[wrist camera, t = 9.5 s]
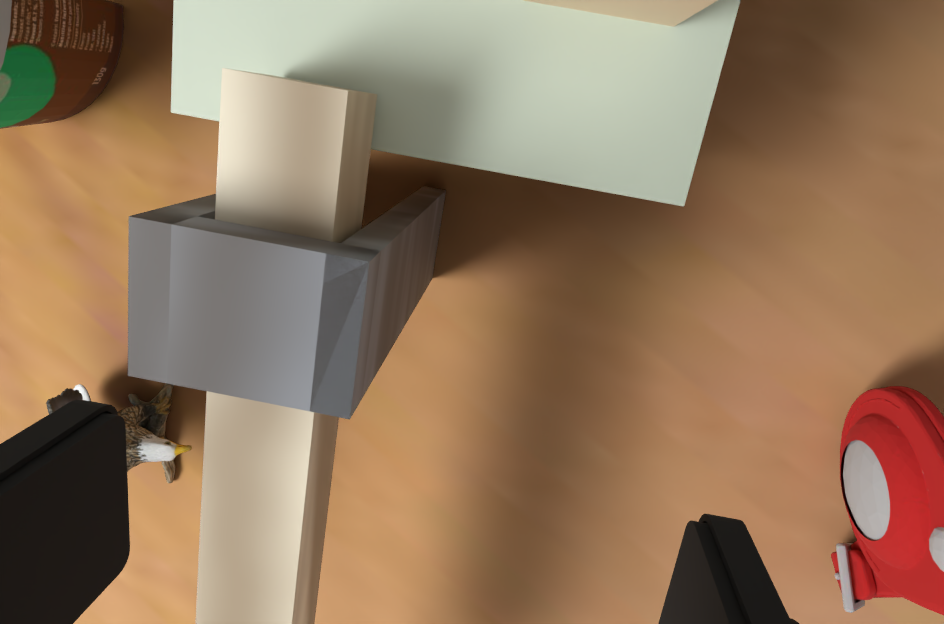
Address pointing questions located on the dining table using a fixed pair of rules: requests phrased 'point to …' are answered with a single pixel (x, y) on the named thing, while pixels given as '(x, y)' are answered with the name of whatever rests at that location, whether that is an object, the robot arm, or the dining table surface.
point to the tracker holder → (893, 499)
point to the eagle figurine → (138, 427)
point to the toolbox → (274, 302)
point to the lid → (488, 78)
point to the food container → (55, 57)
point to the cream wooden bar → (262, 424)
